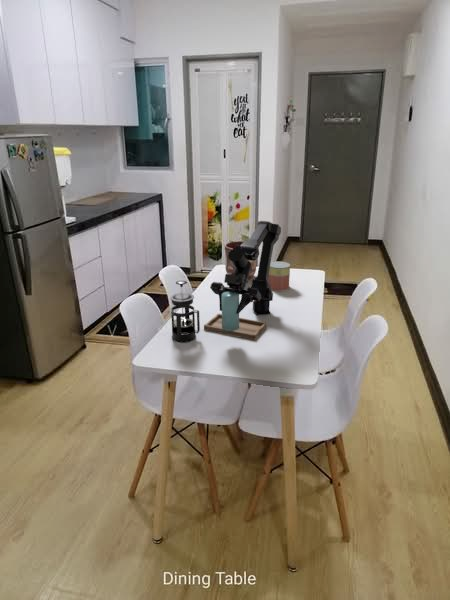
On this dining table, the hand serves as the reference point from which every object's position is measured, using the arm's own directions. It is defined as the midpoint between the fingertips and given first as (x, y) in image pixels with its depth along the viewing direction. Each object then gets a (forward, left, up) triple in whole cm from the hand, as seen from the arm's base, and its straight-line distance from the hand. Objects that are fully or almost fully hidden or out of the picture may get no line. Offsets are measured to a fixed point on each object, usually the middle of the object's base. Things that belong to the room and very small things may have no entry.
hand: (228, 312), depth 159 cm
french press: (+15, -9, -13) cm, 23 cm away
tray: (-6, -13, -13) cm, 20 cm away
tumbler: (-1, -1, -7) cm, 7 cm away
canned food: (-38, -56, -13) cm, 69 cm away
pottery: (-23, -75, -13) cm, 80 cm away
